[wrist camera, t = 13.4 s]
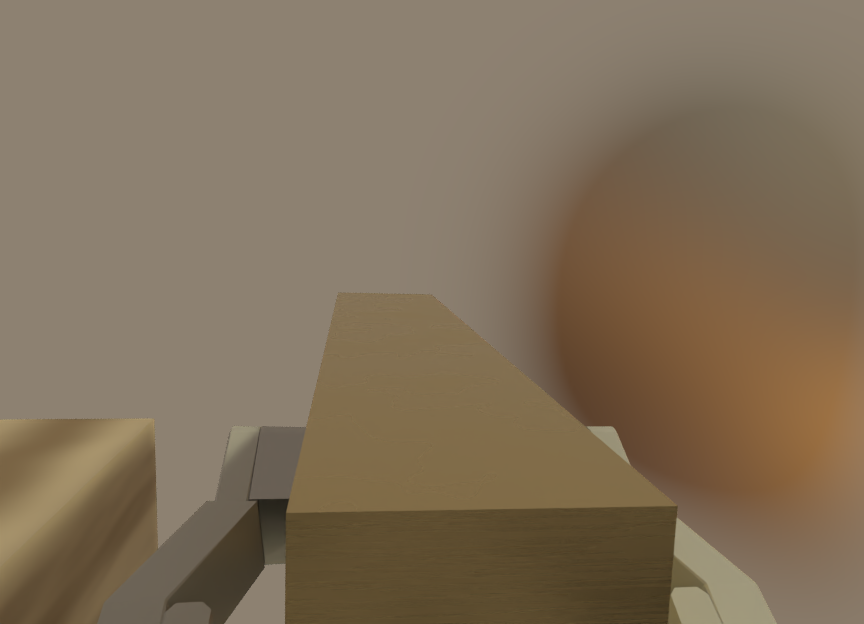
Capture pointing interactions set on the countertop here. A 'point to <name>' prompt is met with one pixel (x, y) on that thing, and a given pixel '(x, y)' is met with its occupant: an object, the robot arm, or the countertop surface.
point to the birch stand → (73, 515)
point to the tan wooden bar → (460, 489)
